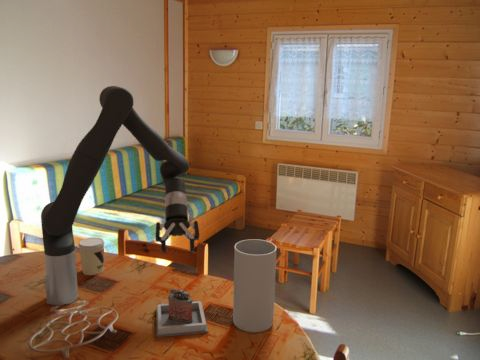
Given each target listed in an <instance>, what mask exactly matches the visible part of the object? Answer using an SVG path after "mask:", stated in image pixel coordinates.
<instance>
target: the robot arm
mask: <svg viewBox="0 0 480 360" xmlns="http://www.w3.org/2000/svg"><path fill="white" fill-rule="evenodd" d="M98 101H99V104H100V106H101V108H102V109H101V111H100V113H99V115H98V117H97V120H96V122H95V124H94V125H93V126H92V128H91V129H90V130H89V131H88V132H87V133H86V134H85V135H84V137H82V139H81V140H80V142H79V143H78V145H77V146H76V148H75V150H74V152H73V153H72V154H71V155H72V156H71V158H70V160H69V161H68V165H67V168H66V171H65V174H64V177H63V181H62V185H61V188H60V189H59V193H58V195H57V196H56V198H55V199H54V201H52V202H51V201H50V202H49V203H48V204H45V206H44V207H43V208H42V210H41V213H40V214H41V215H40V222H41V232H42V233H41V235H42V242H43V244H42V245H43V253H44V261H45V262H44V263H45V276H44V286H45V296H46V297H45V298H46V304H47V305H53V306H63V305H62V304H66V305H69V304H72V303H73V302H76V300H77V299H78V298H79V293H78V292H79V291H78V290H79V289H78V277H77V263H76V250H75V249H76V247H75V239H74V232H73V231H74V229H73V225H74V222H75V220H76V218H77V214H78V213H79V209H80V207H81V205H82V202H83V199H85V196H86V194H87V192H88V191H89V189H90V187H91V185H92V184H93V182H94V180H95V178H96V177H97V174H98V173H99V171H100V169H101V167H102V165H103V164H104V161H105V160H106V159H105V158H106V157H107V155H108V153H109V150H110V148H111V147H112V144H113V143H114V139H115V137H116V136H117V134H118V132H119V130H120V128H121V127H122V126H123V127H125V128H126V129H127V131H128V132H129V133H130V134H131V135H132V136H133V137H134V138H135V140H136V141H137V142H138V143H139V144H140V145H141V147H142V148H143V149H144V150H145V151H146V153H148V154H149V155H150V156H151V157H152V159H153V160H154V161H156V162H157V161H158V162H160V161H162V163H161V164H160V166H159V167H160V168H159V173H160V175H161V178H162V182H163V185H164V188H165V189H164V190H165V192H164V193H165V199H164V214H165V215H164V216H165V217H164V218H165V222H164V223H160V222H159V221H158V222H156V223H155V238H154V239H155V242H156V243H157V242H158V243H160V245H161V247H160V249H161V253H163V254H165V255H166V253H167V252H166V251H167V248H166V247H167V246H166V245H167V244H166V241H167V240H168V239H169V238H170V237H171V236H172V237H177V236H178V237H182V236H184V238H186V239H188V241H189V253H193V251H195V241H199V240H200V231H199V230H200V229H199V224H198V221H197V220H194V221H193V222H189V216H188V215H189V213H188V212H189V211H188V200H187V193H186V183H185V181H184V180H183V179H181V178H178V177H181V176H182V175H185V174H186V173H188V171H189V170H190V163H189V161H188V159H187V158H186V157H185V155H184V154H182V153H180V152H179V151H177V150H176V149H174V148H173V147H172V146H170V145H169V144H168V143H167V142H166V141H165V140H164V138H163V137H162V136H161V135H160V133H158V131H156V129H154V128H153V127H152V125H150V124H149V123H147V121H145V120H144V119H143V118H142V117H141V116H140V115H139V114H138V112H137V111H136V110H135V108H134V96H133V94H132V93H131V91H130V90H128V89H126V88H124V87H120V86H118V85H109V86H107V87H105V88H103V89H102V91H100V94H99V100H98ZM190 227H191V230H193V231H194V235H193V233H191V231H190V230H189V228H190ZM163 229H165V233H164V234H163V235H162V236H161V235H160V233H161V231H162V230H163Z"/></svg>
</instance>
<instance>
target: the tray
mask: <svg viewBox="0 0 480 360" xmlns="http://www.w3.org/2000/svg"><path fill="white" fill-rule="evenodd" d="M168 315H169V303H160V304H157V309H155V320H156V321H155V322H156V323H155V325H156V326H155V327H156V329H155V330H156V333H155V335H156V338H164V337H165V338H166V337H177V336H189V335H198V334H199V335H200V334H207V333H209V329H208V324H207V322H206V321H207V319H206V316H205V311H204V307H203V303H202V300H197V301H193V302H192V318H193V322H192V323H190V324H186V323H179V322H175V321H172V320H169V319H168Z"/></svg>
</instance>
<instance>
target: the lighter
mask: <svg viewBox="0 0 480 360" xmlns="http://www.w3.org/2000/svg"><path fill="white" fill-rule="evenodd" d="M169 293H170V294H168V296H167V300H168V304H169V315H168V319H169V320H172V321H175V322H179V323H186V324H190V323H192V322H193V318H192V302H194V301H193V300H194V299H193V297H191V296H190V292H189V291H185V290H184V289H182V288H180V289H177V288H170V289H169Z"/></svg>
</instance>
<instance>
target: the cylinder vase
mask: <svg viewBox="0 0 480 360" xmlns="http://www.w3.org/2000/svg"><path fill="white" fill-rule="evenodd" d="M233 248H234V254H233V256H234V257H233V296H232V297H233V302H232V304H233V305H232V306H233V308H232V321H233V325H234V326H235V327H236V328H237V329H239V330H241V331H244V332H247V333H261V332H262V333H263V332H265V331H267V330H269V329H270V328H271V327H272V325H273V323H274V314H275V313H274V312H275V296H276V295H275V291H276V290H275V289H276V272H277V271H276V269H277V268H276V266H277V246H276V244H274V243H273V242H272V241H268V240H265V239H257V238H256V239H255V238H254V239H252V238H250V239H243V240H239V241H238V242H236V243H235V244H234V247H233Z"/></svg>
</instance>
